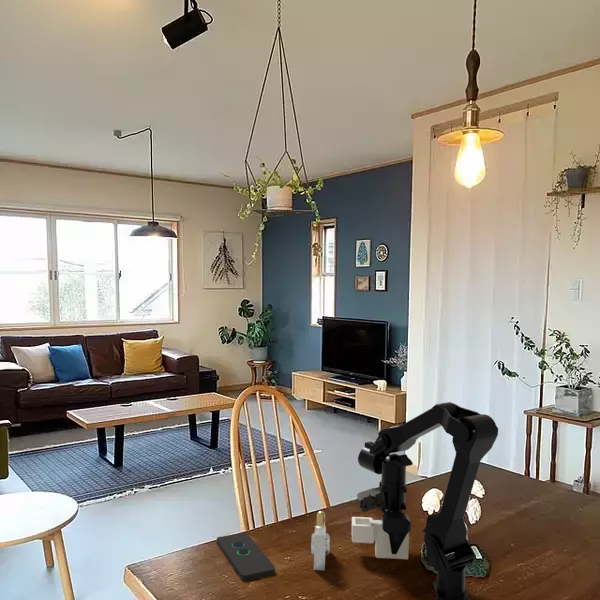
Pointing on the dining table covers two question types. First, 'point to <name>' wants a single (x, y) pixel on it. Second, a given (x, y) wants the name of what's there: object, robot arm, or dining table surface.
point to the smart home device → (245, 556)
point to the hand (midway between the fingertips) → (392, 544)
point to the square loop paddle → (377, 538)
